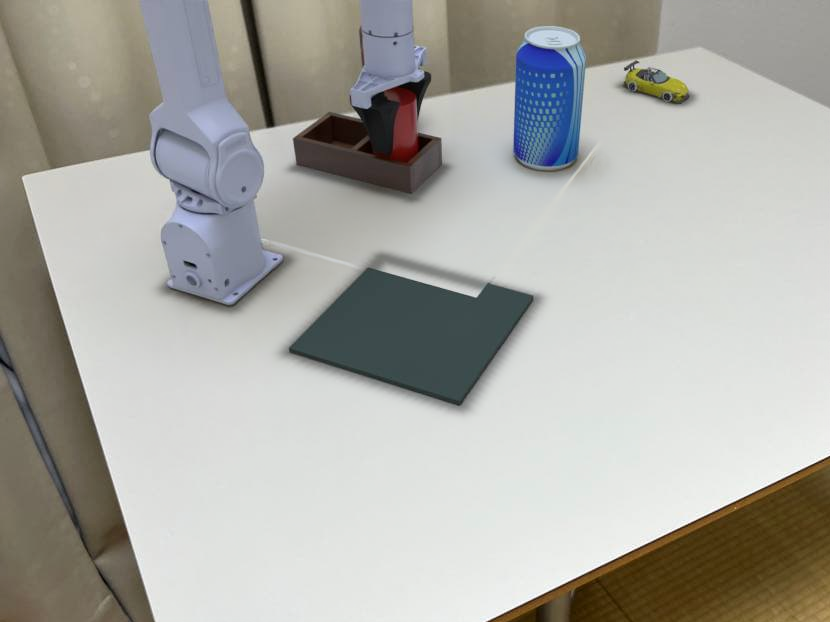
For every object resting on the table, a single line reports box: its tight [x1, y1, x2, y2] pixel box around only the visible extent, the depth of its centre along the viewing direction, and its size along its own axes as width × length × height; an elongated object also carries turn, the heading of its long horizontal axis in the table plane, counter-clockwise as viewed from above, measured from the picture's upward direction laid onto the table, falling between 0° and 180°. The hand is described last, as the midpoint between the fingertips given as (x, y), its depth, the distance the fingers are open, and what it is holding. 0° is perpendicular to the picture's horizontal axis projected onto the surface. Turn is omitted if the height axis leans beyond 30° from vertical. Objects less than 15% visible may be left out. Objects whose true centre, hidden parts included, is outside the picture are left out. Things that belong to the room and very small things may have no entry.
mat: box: [288, 267, 534, 405], centre depth 89 cm, size 18×18×1 cm
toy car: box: [622, 60, 690, 104], centre depth 133 cm, size 5×10×3 cm, turn 57°
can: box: [372, 87, 419, 163], centre depth 107 cm, size 6×6×10 cm
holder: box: [292, 111, 443, 195], centre depth 111 cm, size 8×16×4 cm, turn 68°
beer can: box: [512, 25, 587, 171], centre depth 110 cm, size 8×8×16 cm
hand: (394, 142), depth 108 cm, fingers closed on can, 5 cm apart
